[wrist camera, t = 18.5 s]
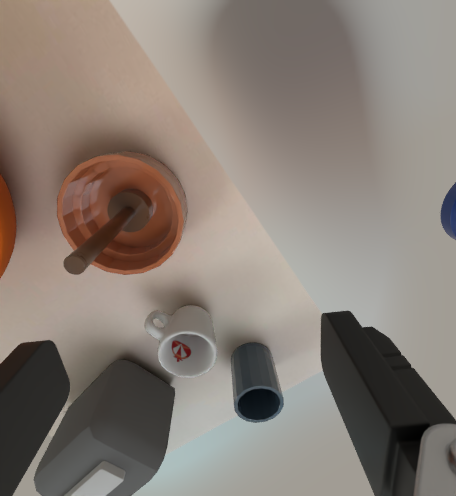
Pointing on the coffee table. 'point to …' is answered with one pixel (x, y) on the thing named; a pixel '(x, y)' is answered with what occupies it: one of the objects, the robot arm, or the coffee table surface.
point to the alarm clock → (109, 436)
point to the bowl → (6, 226)
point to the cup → (184, 341)
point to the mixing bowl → (95, 212)
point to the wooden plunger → (112, 227)
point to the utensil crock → (255, 383)
